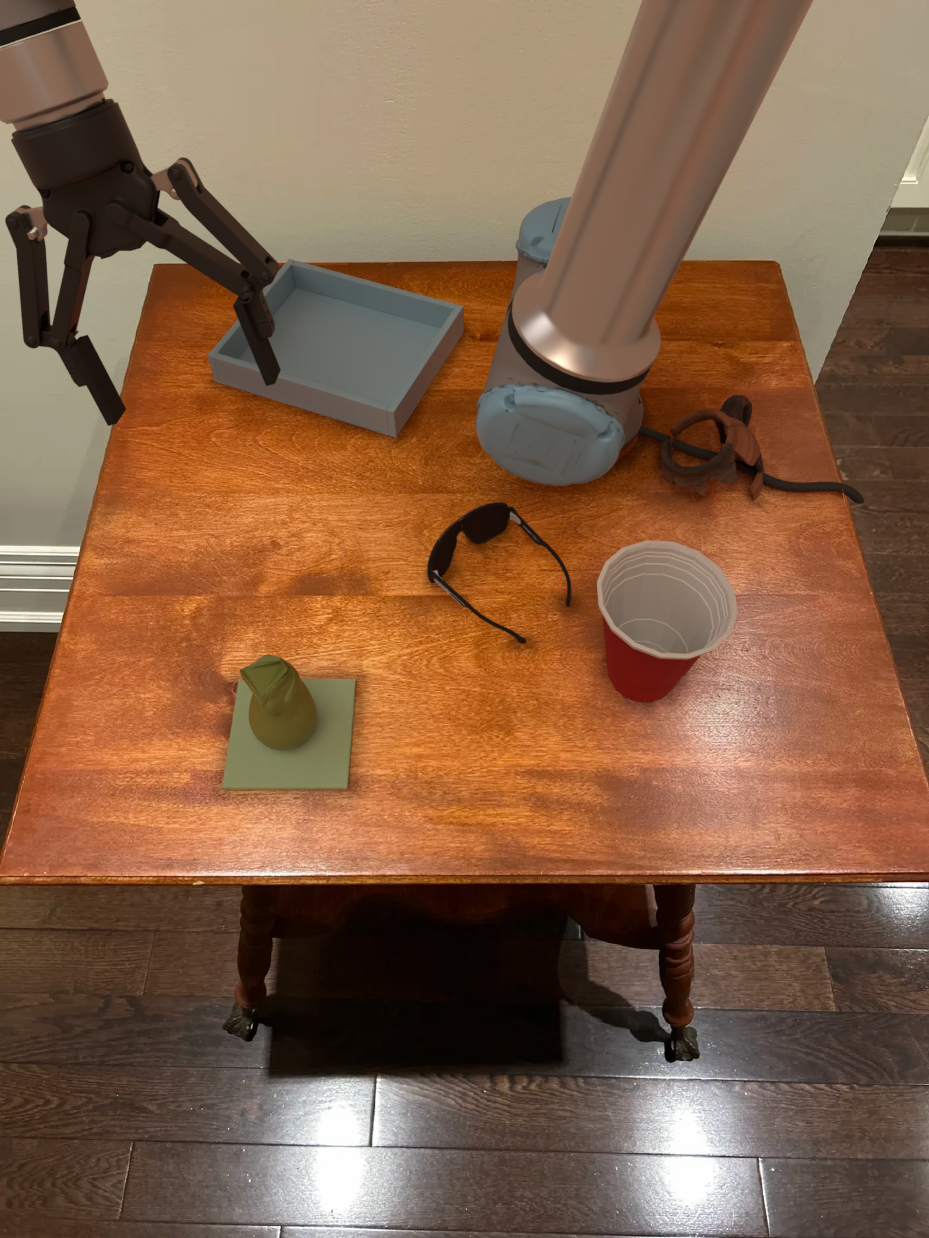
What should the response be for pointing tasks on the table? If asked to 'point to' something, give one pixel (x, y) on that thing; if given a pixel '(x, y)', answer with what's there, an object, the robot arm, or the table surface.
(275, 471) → the table surface
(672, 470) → the brown piece
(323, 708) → the coaster
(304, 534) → the table surface
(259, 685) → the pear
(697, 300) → the table surface
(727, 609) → the plastic cup
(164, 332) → the table surface
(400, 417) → the tray
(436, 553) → the sunglasses
